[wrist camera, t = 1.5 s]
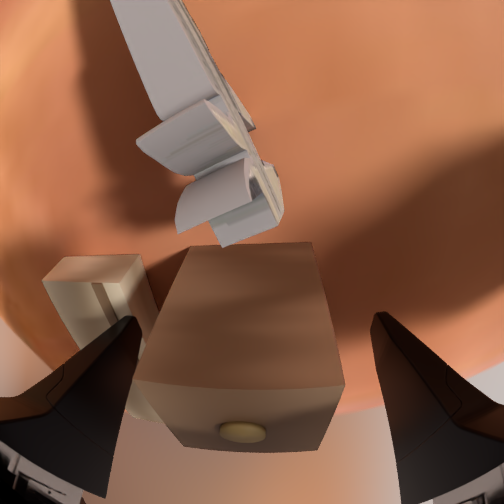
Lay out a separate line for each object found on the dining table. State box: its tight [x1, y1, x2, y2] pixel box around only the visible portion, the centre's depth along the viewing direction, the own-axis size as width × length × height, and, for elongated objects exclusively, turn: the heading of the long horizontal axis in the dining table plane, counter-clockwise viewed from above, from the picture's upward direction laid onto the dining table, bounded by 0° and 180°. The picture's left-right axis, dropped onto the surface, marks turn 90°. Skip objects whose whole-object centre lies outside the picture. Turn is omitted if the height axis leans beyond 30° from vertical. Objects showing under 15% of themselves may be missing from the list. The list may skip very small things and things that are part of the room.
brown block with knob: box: [132, 242, 345, 453], centre depth 9 cm, size 4×4×6 cm
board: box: [41, 254, 165, 424], centre depth 13 cm, size 4×12×2 cm, turn 4°
